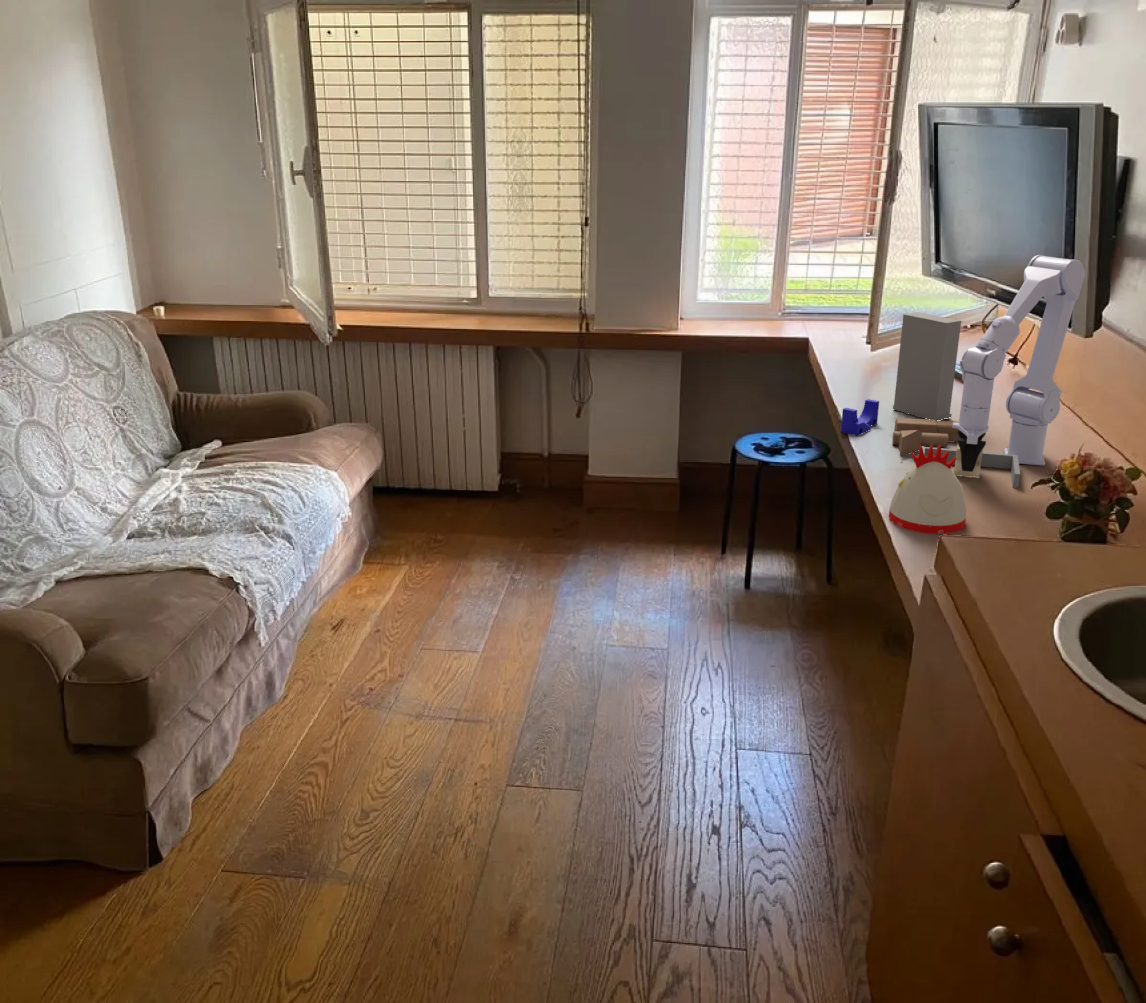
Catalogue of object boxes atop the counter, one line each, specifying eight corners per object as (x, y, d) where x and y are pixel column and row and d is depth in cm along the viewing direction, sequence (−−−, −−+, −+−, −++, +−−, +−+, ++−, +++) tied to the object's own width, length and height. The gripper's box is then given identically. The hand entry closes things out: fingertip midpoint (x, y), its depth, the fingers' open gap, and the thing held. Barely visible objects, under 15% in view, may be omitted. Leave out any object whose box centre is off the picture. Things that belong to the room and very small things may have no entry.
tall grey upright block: (951, 419, 257) (964, 320, 248) (934, 423, 254) (946, 323, 245) (909, 406, 268) (919, 311, 259) (892, 410, 265) (902, 314, 256)
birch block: (954, 469, 222) (957, 443, 219) (978, 472, 220) (982, 445, 218) (954, 475, 218) (957, 449, 216) (978, 478, 216) (982, 451, 214)
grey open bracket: (919, 459, 228) (920, 446, 227) (1015, 468, 222) (1017, 455, 221) (916, 477, 217) (917, 464, 216) (1017, 487, 210) (1020, 474, 209)
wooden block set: (892, 413, 244) (971, 417, 241) (889, 435, 246) (968, 440, 243) (897, 433, 229) (982, 438, 225) (895, 457, 231) (979, 462, 227)
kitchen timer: (882, 505, 202) (890, 433, 197) (954, 507, 201) (963, 434, 196) (897, 533, 189) (905, 456, 184) (973, 535, 188) (984, 457, 183)
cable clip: (857, 436, 245) (859, 412, 243) (840, 432, 248) (842, 408, 246) (882, 425, 253) (884, 402, 251) (866, 422, 256) (868, 399, 254)
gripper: (955, 394, 221) (948, 454, 226) (954, 412, 208) (946, 475, 213) (990, 397, 219) (982, 457, 224) (991, 415, 206) (983, 478, 211)
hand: (967, 466), depth 218 cm, fingers open, 5 cm apart
